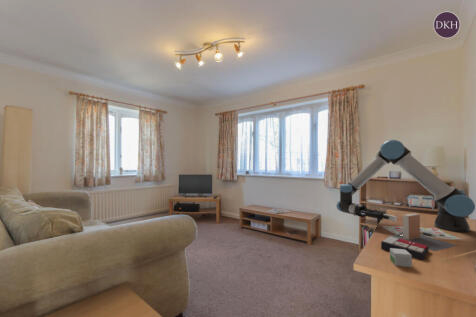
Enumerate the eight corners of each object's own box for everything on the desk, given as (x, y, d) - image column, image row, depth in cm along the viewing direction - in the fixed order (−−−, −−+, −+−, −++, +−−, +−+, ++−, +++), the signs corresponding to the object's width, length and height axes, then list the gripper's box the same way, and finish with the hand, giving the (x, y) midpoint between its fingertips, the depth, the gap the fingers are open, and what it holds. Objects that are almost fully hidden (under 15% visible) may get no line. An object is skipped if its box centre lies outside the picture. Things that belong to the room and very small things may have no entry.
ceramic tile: (414, 236, 115) (414, 213, 115) (420, 237, 113) (420, 214, 113) (403, 238, 112) (403, 214, 112) (409, 239, 110) (408, 216, 110)
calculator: (423, 252, 88) (381, 239, 100) (422, 262, 88) (380, 249, 100) (429, 245, 95) (389, 234, 107) (428, 255, 95) (388, 243, 107)
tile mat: (410, 233, 121) (410, 232, 121) (458, 246, 102) (458, 245, 102) (388, 237, 115) (388, 236, 115) (434, 252, 96) (434, 251, 96)
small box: (389, 259, 89) (389, 247, 89) (406, 261, 87) (406, 249, 87) (394, 265, 84) (394, 253, 84) (412, 268, 82) (412, 255, 82)
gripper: (365, 215, 144) (403, 224, 122) (350, 216, 139) (387, 227, 117) (365, 203, 144) (403, 211, 122) (350, 205, 139) (387, 213, 117)
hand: (395, 219), depth 119 cm, fingers closed
